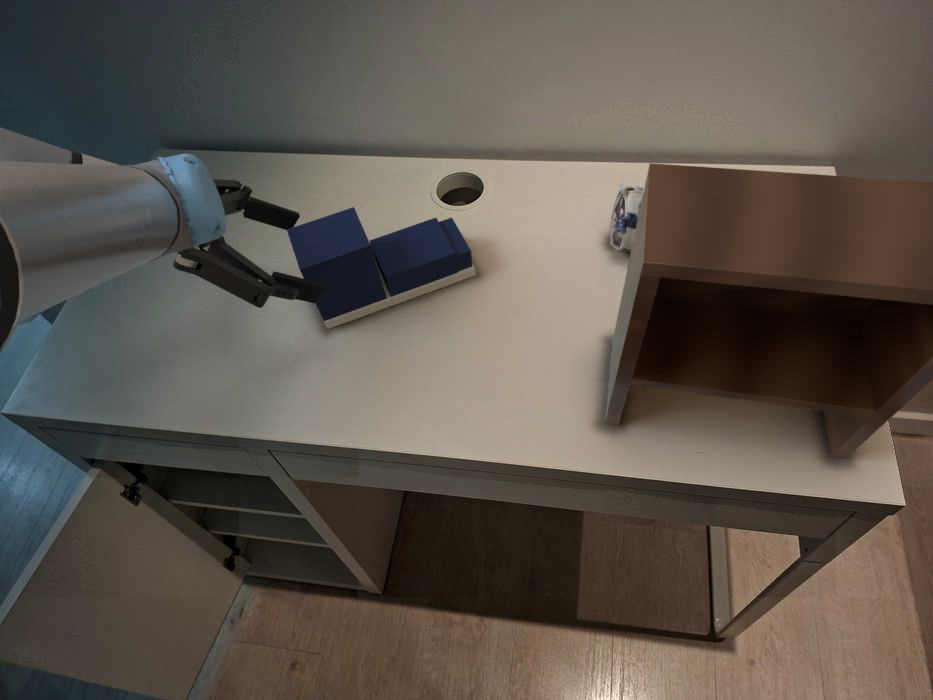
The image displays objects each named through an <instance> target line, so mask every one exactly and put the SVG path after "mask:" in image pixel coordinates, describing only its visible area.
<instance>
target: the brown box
mask: <svg viewBox="0 0 933 700" xmlns="http://www.w3.org/2000/svg"><path fill="white" fill-rule="evenodd" d="M645 179H646V180H645V183H644V188H643V190H644V193H643V198H642V203H641V207H640V212H639V217H638V222H637V226H636V231H635V236H634V241H633V245H632V250H631V252H630V255H629V260H628V265H627V269H626V273H625V279H624V284H623V289H622V293H621V297H620V302H619V308H618V313H617V316H616V322H615V327H614V331H613V336H612V342H611V351H610V352H611V353H610V362H609V371H608V372H609V374H608V384H607V394H606V406H605V415H604V416H605V417H604V424H605V425H612V426H617V427H618V426H619V425H620V422H621V419H622V415H623V411H624V407H625V404H626V400H627V397H628V393H629V390H630V386H635V387H643V388H652V389H656V390H657V389H658V390H664V391H665V390H666V391H673V392H674V391H675V392H681V393H687V394H688V393H689V394H694V395H703V396H711V397H717V398H724V399H725V398H726V399H733V400H740V401H747V402H748V401H749V402H755V403H756V402H757V403H763V404H769V405H777V406H784V407H785V406H786V407H792V408H793V407H794V408H801V409H807V410H815V411H823V413H824V421H825V429H826V436H827V444H828V451H829V457H830V458H835V459H836V458H837V459H841V460H846V459H848V458H849V457H850V456H851V455H852V454H853V453H854V452H855V451H857V449H858V448H859V447H861V446H862V445H863V444H864V443H865V442H866V441H867V440H868V439H870V438H871V437H872V436H873V435H874V434H875V433H877V431H878V430H879V429H880V428H881V427H883V426H884V425H885V424H886V423H887V422H888V421H890V419H892V417H893V416H895V414H897V413H898V412H899V411H900V410H901V409H902V408H903V407H904V406H906V405H907V403H909V402H910V401H911V400H912V399H913V398H914V397H915V396H916V395H917V394H919V393H920V392H921V391H922V390H923V389H924V388H925V387H927V385H928V384H930V383H931V382H932V381H933V181H923V180H922V181H921V180H905V179H892V178H891V179H889V178H874V177H862V176H861V177H860V176H845V175H833V174H832V175H831V174H817V173H801V172H786V171H773V170H772V171H771V170H755V169H741V168H740V169H739V168H725V167H712V166H711V167H709V166H698V165H697V166H694V165H680V164H667V163H649V164H648V170H647V174H646V178H645Z"/></svg>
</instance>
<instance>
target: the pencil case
mask: <svg viewBox="0 0 933 700" xmlns="http://www.w3.org/2000/svg"><path fill="white" fill-rule="evenodd" d="M619 186H620V189H618V192H617V194H616V197H615V201H614V205H613V209H612V212H611V217H610V224H609V227H610V228H609V230H610V231H609V238H610V241H609V242H610V246H611V247H612V248H614V249H615V250H617V251H618V252H620V253H631V250H632V245H633V241H634V236H635V231H636V226H637V222H638V217H639V212H640V207H641V203H642V198H643V193H644V188H643V186H640V185H637V186H632V185H627V186H625V184H624V181H623V179H621V180H620V182H619Z"/></svg>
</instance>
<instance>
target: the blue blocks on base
mask: <svg viewBox="0 0 933 700" xmlns="http://www.w3.org/2000/svg"><path fill="white" fill-rule="evenodd" d="M286 232H287V236H288V238H289V241H290V245H291V247H292V251H293V253H294V257H295V260H296V262H297V266H298V268H299V269H298V270H299V271H300V273H301V276H302V278H303V279H307V280H311V281H315V282H319V283H323V284H325V287H326V289H325V290H324V292H323V293H322V295H321V296H320V297H319V299H318V300H317V302H316V303H315V305H316V308H317V309H318V311H319V314H320V315H321V318H322V320H323V322H324V325H325V327H326V329H327V330H330V329H333V328H336V327H338V326H341V325H343V324H346V323H348V322H352V321H355V320H357V319H360V318H363V317H365V316H368V315H370V314H374V313H376V312H379V311H381V310H385V309H388V308H390V307H393V306H395V305H399V304H401V303H404V302H406V301H409V300H412V299H416V297H417V298H418V297H420V296H423V295H425V294H428V293H431V292H433V291H436V290H439V289H442V288H444V287H448V286H450V285H453V284H455V283H458V282H462V281H464V280H466V279H469V278H472V277H475V276H476V274H477V273H476V267H475V266H474V264H473V259H472V258H473V257H472V250H471V248H470V246H469V245H468V243H467V241H466V240H465V238H464V236H463V235H462V232H461V231H460V229H459V227H458V226H457V224H456V222H455V220H454V219H453V217H449V218H446V219H444V220H441V221H439V220H438V218H437V217H433V218H431V219H427V220H425V221H421V222H419V223H415V224H413V225H410V226H408V227H404V228H401V229H398V230H396V231H392V232H390V233H386V234H383V235H381V236H379V237H375V238H372V239H369V237H368V236H367V234H366V231H365V229H364V227H363V224H362V222H361V220H360V218H359V215H358V213H357V211H356V208H355V207H354V206H352V207H350V208H346V209H343V210H340V211H337V212H334V213H332V214H329V215H326V216H323V217H320V218H317V219H314V220H311V221H308V222H305V223H301V224H299V225H296V226H294V227H293V228H290V229H287V230H286Z"/></svg>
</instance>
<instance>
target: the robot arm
mask: <svg viewBox="0 0 933 700" xmlns="http://www.w3.org/2000/svg"><path fill="white" fill-rule="evenodd" d="M252 193H253V189H252V188H251V187H250V186H248V185H243V183H242V182H241V181H239V180H237V179H218V178H217V179H216V178H213V177H212V175H211V173H210V171H209V170H208V168H207V166H206V165H205V163H204V162H203V161H202V160H201V159H200V158H199V157H198V156H196V155H194V154H192V153H181V154H176V155H172V156H166V157H163V156H158V157H156V158H155V159H153V160H150V161H146V162H141V163H136V164H121V165H120V164H118V163H114V162H111V161H107V160H105V159H101V158H97V157H96V156H95V157H94V156H91V155H89V154H85V153H82V152H77V151H74V150H72V149H66V148H62V147H59V146H57V145H54V144H51V143H48V142H45V141H42V140H39V139H37V138H33V137H30V136H27V135H25V134H21V133H19V132H16V131H12V130H9V129H8V128H7V129H6V128H3V127H1V126H0V351H1V350H2V349H3V348H4V347H5V346H6V345H7V344H8V341H9V340H10V338H11V336H12V335H13V333H14V332H15V329H16V327H19V326H23V325H26V324H28V323H30V322H32V321H34V320H36V318H37V317H38V316H39V315H41V314H42V313H43V312H45V311H46V310H48V309H50V308H53V307H54V306H56V305H58V304H60V303H63V302H65V301H68V300H69V299H71V298H73V297H76V296H78V295H80V294H82V293H85V292H87V291H89V290H91V289H93V288H95V287H97V286H100V285H101V284H103V283H106V282H108V281H111V280H113V279H114V278H117V277H119V276H121V275H123V274H125V273H127V272H129V271H132V270H133V269H136V268H138V267H140V266H142V265H145V264H147V263H150V262H152V261H155V260H158V259H160V258H162V257H165V256H167V255H170V254H172V253H176V257H175V259H174V261H173V263H172V266H173V267H174V269H175V270H178V271H181V272H184V273H188V274H191V275H194V276H196V277H199V278H201V279H202V280H204V281H206V282H208V283H210V284H212V285H213V286H215V287H218V288H220V289H222V290H224V291H225V292H227V293H229V294H231V295H233V296H235V297H237V298H239V299H241V300H243V301H245V302H246V303H248V304H251V305H252V306H254V307H256V308H259V309H261V308H264V306H265V304H266V303H267V302H268V300H269V298H270V297H274V298H278V299H283V300H288V301H295V300H297V301H301V302H306V303H311V304H316V302H317V300H318V299H319V297H320V296H321V295H322V293H323V292H324V290H325V289H326V287H325V284H323V283H319V282H315V281H311V280H307V279H304V278H303V277H299V276H295V275H291V274H287V273H283V272H279V271H275V270H274V271H273V272H271V273H272V274H270V273H268V272H266V270H264V269H263V268H261V267H260V266H258V265H257V264H256V263H254V262H253V261H251V259H249V258H248V257H246V256H245V255H243V254H242V253H240V251H238V250H236V249H235V248H234V247H233V246H231V245H229V244H228V243H227V242H226V239H225V237H224V234H225V233H226V230H227V217H226V216H230V215H233V214H236V213H240V212H242V211H243V212H242V216H243V218H244V219H248V220H252V221H255V222H258V223H260V224H261V223H262V224H264V225H268V226H271V227H275V228H278V229H281V230H285V231H287V229H290V228H293V227H295V225H296V224H297V222H298V220H300V217H301V214H300V212H298V211H295V210H292V209H289V208H286V207H284V206H283V207H282V206H279V205H277V204H274V203H271V202H268V201H266V200H262V199H260V198H256V197H253V196H251V195H252ZM205 248H208V249H207V250H206V249H205Z"/></svg>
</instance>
